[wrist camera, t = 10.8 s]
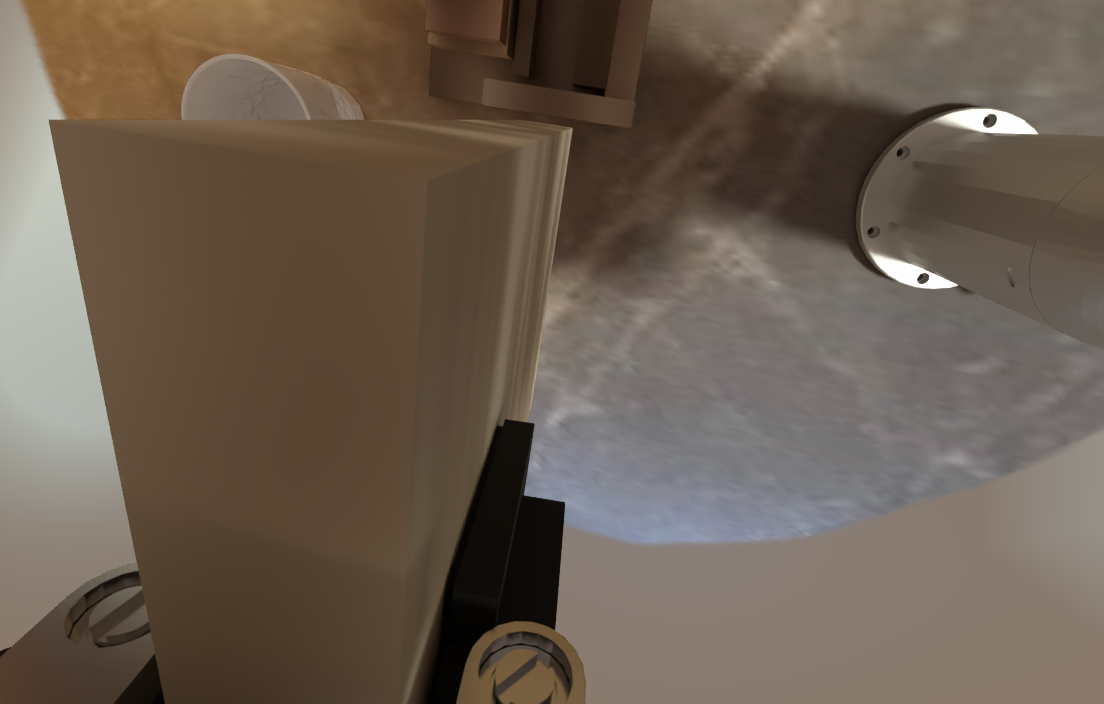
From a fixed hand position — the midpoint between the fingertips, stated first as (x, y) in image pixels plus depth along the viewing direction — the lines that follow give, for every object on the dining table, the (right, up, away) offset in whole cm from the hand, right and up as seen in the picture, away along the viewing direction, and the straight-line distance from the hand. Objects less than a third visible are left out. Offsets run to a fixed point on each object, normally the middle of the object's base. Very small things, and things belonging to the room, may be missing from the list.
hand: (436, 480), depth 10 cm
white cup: (-15, +19, +31) cm, 40 cm away
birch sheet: (+1, +6, +13) cm, 15 cm away
